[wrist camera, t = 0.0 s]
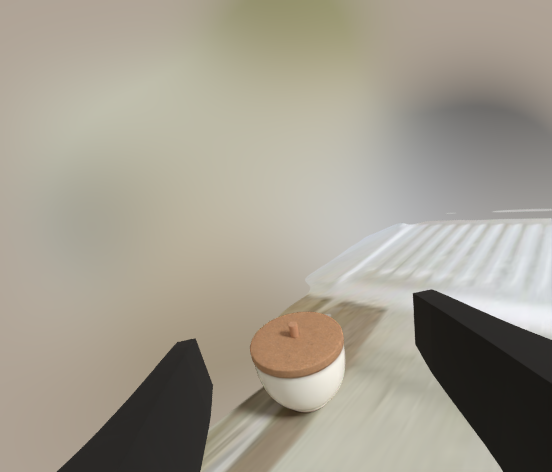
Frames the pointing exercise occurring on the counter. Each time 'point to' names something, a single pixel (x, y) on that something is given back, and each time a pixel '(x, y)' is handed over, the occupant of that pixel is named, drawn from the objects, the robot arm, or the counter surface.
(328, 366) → the lidded jar
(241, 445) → the counter surface
